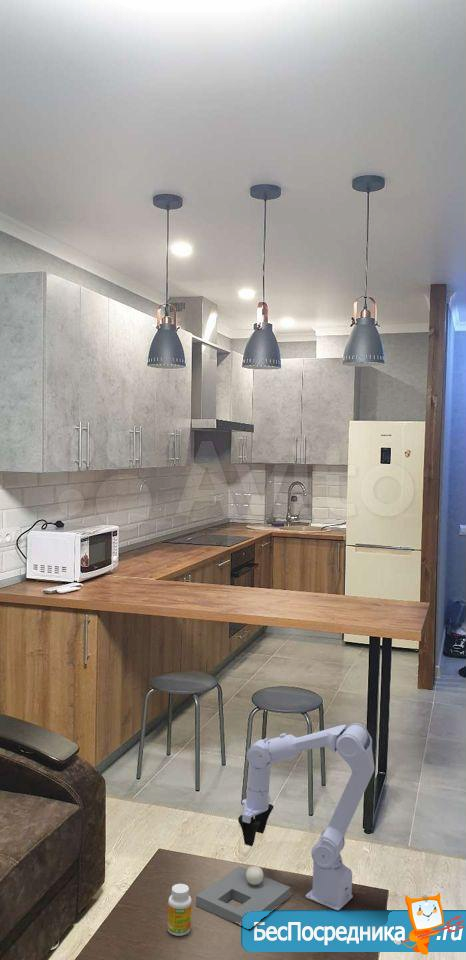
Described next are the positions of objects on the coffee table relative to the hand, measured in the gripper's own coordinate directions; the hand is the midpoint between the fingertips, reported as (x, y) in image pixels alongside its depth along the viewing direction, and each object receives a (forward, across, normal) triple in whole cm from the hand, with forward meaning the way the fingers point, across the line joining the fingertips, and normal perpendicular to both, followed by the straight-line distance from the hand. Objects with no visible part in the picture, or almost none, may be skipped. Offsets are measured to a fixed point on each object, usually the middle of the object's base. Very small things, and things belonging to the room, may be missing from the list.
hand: (254, 838), depth 203 cm
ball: (+6, +6, +3) cm, 9 cm away
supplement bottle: (+11, +28, -6) cm, 31 cm away
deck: (+10, +11, +2) cm, 15 cm away
